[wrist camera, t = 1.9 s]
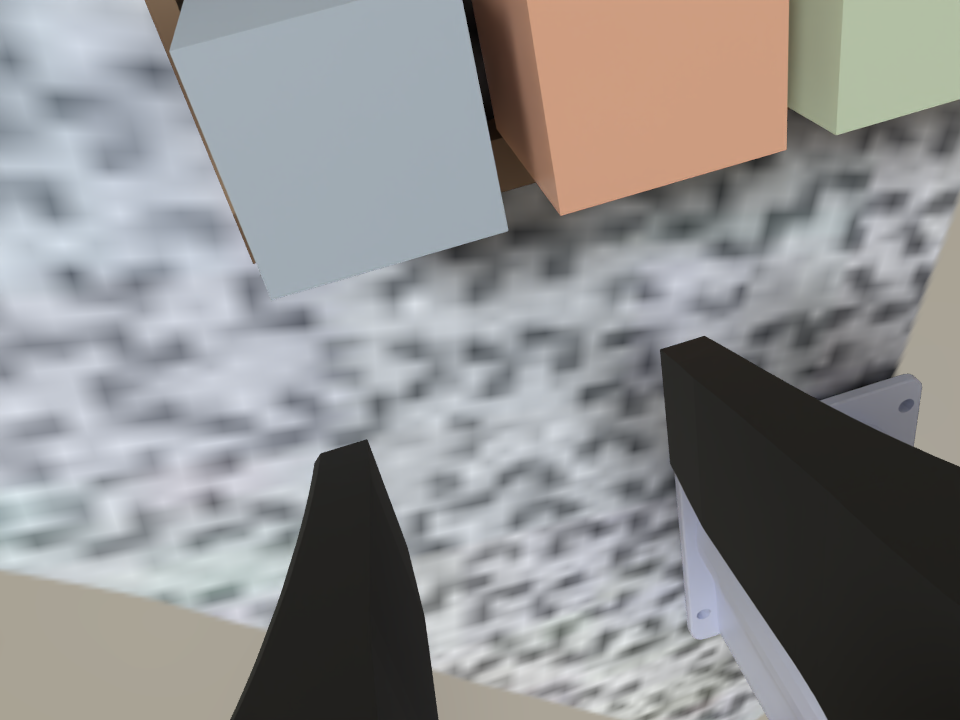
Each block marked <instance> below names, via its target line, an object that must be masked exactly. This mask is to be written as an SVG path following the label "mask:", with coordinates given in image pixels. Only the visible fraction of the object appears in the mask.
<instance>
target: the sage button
mask: <svg viewBox="0 0 960 720" xmlns="http://www.w3.org/2000/svg"><path fill="white" fill-rule="evenodd" d="M959 99H960V0H789V38H788V94H787V107H789V108H790V109H792V110H794V111H796V112H797V113H799V114H801V115H802V116H804V117H806V118H807V119H809V120H811V121H813V122H814V123H816V124H818V125H819V126H821V127H823V128H824V129H826V130H828V131H830V132H831V133H833V134H835V135H839V134H843V133H846V132H849V131H853V130H856V129H860V128H863V127H867V126H870V125H873V124H877V123H880V122H884V121H887V120H890V119H894V118H897V117H901V116H904V115H908V114H911V113H914V112H918V111H921V110H925V109H928V108H932V107H935V106H938V105H942V104H945V103H949V102H952V101H956V100H959Z"/></svg>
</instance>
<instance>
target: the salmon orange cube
mask: <svg viewBox="0 0 960 720" xmlns="http://www.w3.org/2000/svg"><path fill="white" fill-rule="evenodd" d="M472 5H473V10H474V15H475V20H476V26H477V31H478V36H479V41H480V46H481V51H482V56H483V62H484V67H485V72H486V77H487V82H488V87H489V93H490V98H491V103H492V108H493V113H494V118H495V123H496V129H497V130H498V132H499V133H500V134H501V136H502V137H503V138H504V140H505V141H506V142H507V144H508V145H509V146H510V148H511V149H512V151H513V152H514V153H515V155H516V156H517V157H518V159H519V160H520V161H521V163H522V164H523V165H524V167H525V168H526V170H527V171H528V172H529V174H530V175H531V176H532V178H533V179H534V180H535V182H536V183H537V184H538V186H539V187H540V189H541V190H542V191H543V193H544V194H545V195H546V197H547V198H548V199H549V201H550V202H551V203H552V205H553V206H554V208H555V209H556V210H557V212H558V213H559V214H560V216H562V215H565V214H569V213H572V212H576V211H579V210H582V209H586V208H589V207H593V206H596V205H599V204H603V203H606V202H610V201H613V200H617V199H620V198H623V197H627V196H630V195H634V194H637V193H641V192H644V191H647V190H651V189H654V188H658V187H661V186H665V185H668V184H671V183H675V182H678V181H682V180H685V179H688V178H692V177H695V176H699V175H702V174H706V173H709V172H712V171H716V170H719V169H723V168H726V167H730V166H733V165H736V164H740V163H743V162H747V161H750V160H754V159H757V158H760V157H764V156H767V155H771V154H774V153H778V152H781V151H784V150H787V94H788V38H789V0H472Z"/></svg>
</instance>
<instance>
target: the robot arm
mask: <svg viewBox="0 0 960 720" xmlns="http://www.w3.org/2000/svg"><path fill="white" fill-rule="evenodd" d="M660 354H661V365H662V376H663V387H664V398H665V410H666V421H667V432H668V443H669V454H670V464H671V466H672V468H673V470H674V472H675V484H676V495H677V507H678V519H679V530H680V542H681V554H682V565H683V577H684V589H685V600H686V612H687V623H688V629H689V631H690V633H691V635H692V637H693V638H695V639H706V638H709V637H712V636H715V635H718V634H721V636H722V637H723V639H724V641H725V643H726V644H727V646H728V648H729V650H730V652H731V653H732V655H733V657H734V659H735V660H736V662H737V664H738V666H739V668H740V669H741V671H742V673H743V675H744V676H745V678H746V680H747V682H748V684H749V685H750V687H751V689H752V691H753V692H754V694H755V696H756V698H757V700H758V701H759V703H760V705H761V707H762V709H763V710H764V712H765V714H766V715H767V717H768V719H769V720H960V467H959V466H957V465H954V464H952V463H950V462H947V461H945V460H942V459H940V458H937V457H935V456H933V455H930V454H928V453H926V452H924V451H922V450H920V449H917V448H915V447H914V439H915V433H916V426H917V419H918V412H919V405H920V398H921V390H922V384H921V382H920V381H919V380H918V379H917V378H916V377H914V376H913V375H911V374H903V375H899V376H896V377H893V378H890V379H886V380H883V381H880V382H877V383H874V384H871V385H867V386H864V387H861V388H858V389H855V390H852V391H848V392H845V393H842V394H839V395H836V396H832V397H829V398H826V399H823V400H820V401H819V400H817V399H816V398H814V397H812V396H810V395H808V394H806V393H804V392H803V391H801V390H799V389H797V388H795V387H794V386H792V385H790V384H788V383H786V382H785V381H783V380H781V379H779V378H777V377H776V376H774V375H772V374H770V373H769V372H767V371H765V370H763V369H762V368H760V367H758V366H756V365H755V364H753V363H751V362H749V361H748V360H746V359H744V358H743V357H741V356H739V355H737V354H736V353H734V352H732V351H730V350H729V349H727V348H725V347H723V346H722V345H720V344H718V343H716V342H715V341H713V340H711V339H709V338H707V337H706V336H703V337H699V338H696V339H693V340H690V341H686V342H683V343H680V344H677V345H673V346H670V347H667V348H664V349H660ZM230 720H438V713H437V705H436V698H435V691H434V683H433V675H432V667H431V660H430V653H429V645H428V638H427V631H426V623H425V617H424V613H423V608H422V604H421V600H420V596H419V592H418V588H417V584H416V580H415V576H414V572H413V567H412V563H411V559H410V555H409V551H408V547H407V545H406V542H405V539H404V536H403V534H402V531H401V528H400V526H399V523H398V520H397V518H396V515H395V512H394V510H393V507H392V504H391V502H390V499H389V496H388V494H387V491H386V488H385V486H384V483H383V480H382V478H381V475H380V472H379V470H378V467H377V464H376V461H375V459H374V456H373V453H372V451H371V448H370V445H369V443H368V440H363V441H360V442H357V443H353V444H350V445H347V446H344V447H340V448H337V449H334V450H331V451H327V452H324V453H321V454H320V455H319V457H318V458H317V460H316V462H315V464H314V470H313V476H312V481H311V486H310V491H309V496H308V500H307V505H306V509H305V513H304V517H303V521H302V524H301V528H300V532H299V536H298V539H297V543H296V546H295V549H294V553H293V556H292V559H291V562H290V566H289V569H288V572H287V575H286V579H285V582H284V585H283V588H282V592H281V595H280V597H279V600H278V603H277V606H276V609H275V611H274V614H273V617H272V619H271V622H270V625H269V627H268V630H267V633H266V636H265V638H264V641H263V643H262V646H261V649H260V652H259V654H258V657H257V659H256V662H255V664H254V667H253V669H252V672H251V674H250V677H249V679H248V681H247V683H246V686H245V688H244V691H243V693H242V695H241V697H240V700H239V702H238V704H237V706H236V709H235V711H234V713H233V715H232V717H231V719H230Z"/></svg>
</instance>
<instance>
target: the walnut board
mask: <svg viewBox="0 0 960 720" xmlns="http://www.w3.org/2000/svg"><path fill="white" fill-rule="evenodd" d="M145 2H146V5H147V7H148V10H149V12H150V14H151V17H152V19H153V22H154V24H155V27H156V29H157V31H158V34H159V36H160V39H161V41H162V44H163V46H164V48H165V51H166V53H167V56H168V58H169V61H170V63H171V65H172V68H173V70H174V73H175V75H176V78H177V80H178V82H179V85H180V87H181V90H182V92H183V94H184V97H185V99H186V102H187V104H188V107H189V109H190V111H191V114H192V116H193V119H194V121H195V124H196V126H197V128H198V131H199V133H200V136H201V138H202V141H203V143H204V145H205V148H206V150H207V153H208V155H209V158H210V160H211V162H212V165H213V167H214V170H215V172H216V175H217V177H218V179H219V182H220V184H221V187H222V189H223V192H224V194H225V196H226V199H227V201H228V204H229V206H230V208H231V211H232V213H233V216H234V218H235V221H236V223H237V225H238V228H239V230H240V233H241V235H242V238H243V240H244V242H245V245H246V247H247V250H248V252H249V255H250V257H251V259H252V262H253V264H255V263H256V262H255V259H254V257H253V254H252V252H251V250H250V247H249V245H248V242H247V240H246V237H245V235H244V232H243V230H242V228H241V225H240V223H239V220H238V218H237V215H236V213H235V211H234V208H233V206H232V203H231V201H230V198H229V196H228V193H227V191H226V189H225V186H224V184H223V181H222V179H221V176H220V174H219V171H218V169H217V167H216V164H215V162H214V159H213V157H212V154H211V152H210V150H209V147H208V145H207V142H206V140H205V137H204V135H203V132H202V130H201V128H200V125H199V123H198V120H197V118H196V115H195V113H194V110H193V108H192V106H191V103H190V101H189V98H188V96H187V93H186V91H185V89H184V86H183V84H182V81H181V79H180V76H179V74H178V71H177V69H176V67H175V64H174V62H173V59H172V57H171V54H170V52H169V50H170V47H171V43H172V40H173V36H174V33H175V29H176V26H177V22H178V19H179V16H180V12H181V9H182V5H183V2H184V0H145ZM789 109H790V108H789V107H787V110H789ZM486 121H487V126H488V131H489V136H490V141H491V146H492V151H493V156H494V161H495V166H496V171H497V176H498V181H499V186H500V191H501V192H505V191H508V190H512V189H515V188H519V187H522V186H525V185H529V184H532V183H536V182H535V180H534V179H533V178H532V176H531V175H530V174H529V172H528V171H527V170H526V168H525V167H524V165H523V164H522V163H521V161H520V160H519V159H518V157H517V156H516V155H515V153H514V152H513V151H512V149H511V148H510V146H509V145H508V144H507V142H506V141H505V140H504V138H503V137H502V136H501V134H500V133H499V132H498V130H497V129H496V123H495V118H493V119H490V120H486Z"/></svg>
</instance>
